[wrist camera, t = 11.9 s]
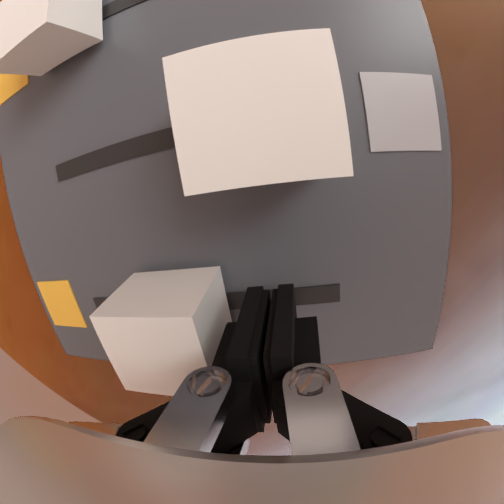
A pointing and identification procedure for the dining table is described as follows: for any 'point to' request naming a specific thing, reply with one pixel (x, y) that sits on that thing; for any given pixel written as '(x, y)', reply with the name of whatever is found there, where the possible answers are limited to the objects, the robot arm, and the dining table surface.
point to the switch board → (240, 199)
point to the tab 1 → (46, 33)
